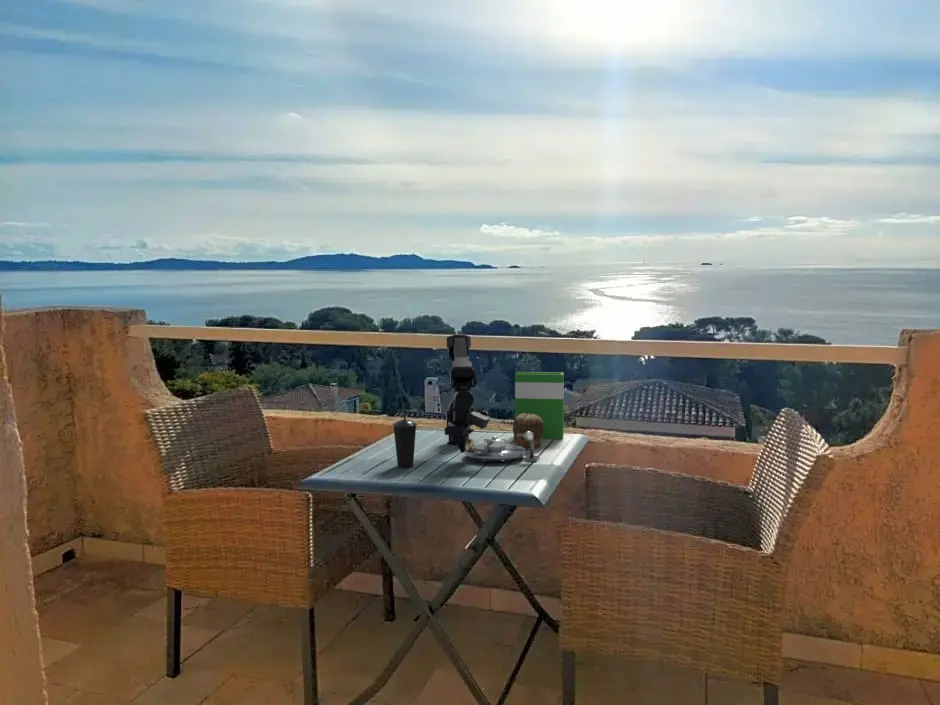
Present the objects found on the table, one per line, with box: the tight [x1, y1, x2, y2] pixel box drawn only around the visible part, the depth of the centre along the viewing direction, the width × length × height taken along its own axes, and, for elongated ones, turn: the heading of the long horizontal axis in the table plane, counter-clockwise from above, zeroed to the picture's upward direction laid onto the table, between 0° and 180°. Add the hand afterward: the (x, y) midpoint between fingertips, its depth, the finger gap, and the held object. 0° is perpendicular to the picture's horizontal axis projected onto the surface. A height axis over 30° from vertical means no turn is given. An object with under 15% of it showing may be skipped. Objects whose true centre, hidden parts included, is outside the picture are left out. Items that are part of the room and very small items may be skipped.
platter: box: [464, 437, 526, 461], centre depth 243 cm, size 20×20×5 cm
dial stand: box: [517, 431, 540, 463], centre depth 240 cm, size 7×5×10 cm
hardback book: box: [514, 371, 565, 440], centre depth 277 cm, size 18×7×24 cm, turn 81°
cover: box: [483, 435, 506, 452], centre depth 243 cm, size 7×7×4 cm
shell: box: [512, 413, 544, 450], centre depth 259 cm, size 11×11×12 cm
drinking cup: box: [392, 403, 418, 469], centre depth 232 cm, size 8×8×20 cm
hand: (462, 452), depth 236 cm, fingers closed
